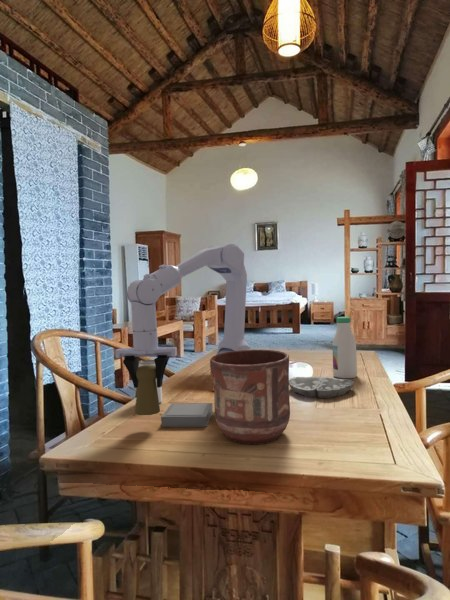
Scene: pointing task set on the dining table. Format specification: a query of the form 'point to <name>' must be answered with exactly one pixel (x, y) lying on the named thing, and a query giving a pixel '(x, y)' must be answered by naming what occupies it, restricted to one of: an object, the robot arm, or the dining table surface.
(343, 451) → the dining table surface
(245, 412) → the pottery
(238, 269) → the robot arm
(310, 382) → the brain slice
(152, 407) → the olive bowling pin
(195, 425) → the grey flat square block
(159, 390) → the can
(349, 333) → the milk bottle
